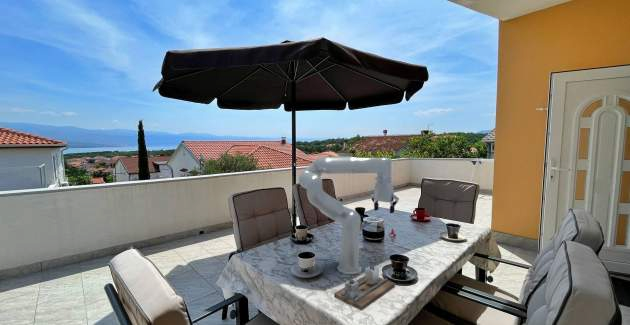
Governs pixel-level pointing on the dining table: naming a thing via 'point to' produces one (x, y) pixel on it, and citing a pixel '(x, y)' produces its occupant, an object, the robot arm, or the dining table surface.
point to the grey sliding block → (371, 275)
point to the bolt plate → (363, 292)
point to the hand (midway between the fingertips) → (384, 211)
